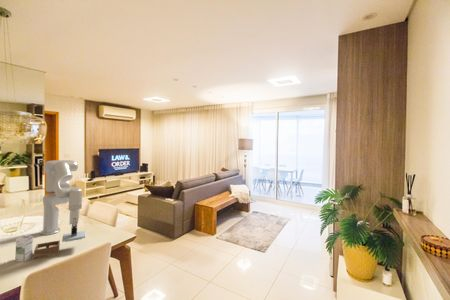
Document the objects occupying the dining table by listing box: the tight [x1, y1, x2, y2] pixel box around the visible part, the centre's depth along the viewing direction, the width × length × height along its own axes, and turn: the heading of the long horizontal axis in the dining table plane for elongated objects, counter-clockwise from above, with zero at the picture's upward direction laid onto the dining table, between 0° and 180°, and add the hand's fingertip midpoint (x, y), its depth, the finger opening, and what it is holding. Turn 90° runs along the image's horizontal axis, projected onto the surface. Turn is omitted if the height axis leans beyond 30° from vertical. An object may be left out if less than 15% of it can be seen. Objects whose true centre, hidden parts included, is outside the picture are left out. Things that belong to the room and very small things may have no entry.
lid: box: [61, 230, 86, 243], centre depth 147 cm, size 11×13×10 cm
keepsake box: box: [33, 240, 61, 260], centre depth 139 cm, size 10×12×6 cm
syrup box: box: [14, 235, 34, 263], centre depth 131 cm, size 6×6×14 cm
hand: (74, 232), depth 147 cm, fingers closed on lid, 3 cm apart
